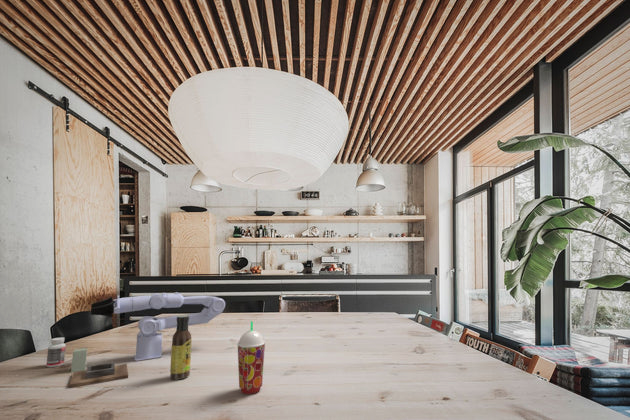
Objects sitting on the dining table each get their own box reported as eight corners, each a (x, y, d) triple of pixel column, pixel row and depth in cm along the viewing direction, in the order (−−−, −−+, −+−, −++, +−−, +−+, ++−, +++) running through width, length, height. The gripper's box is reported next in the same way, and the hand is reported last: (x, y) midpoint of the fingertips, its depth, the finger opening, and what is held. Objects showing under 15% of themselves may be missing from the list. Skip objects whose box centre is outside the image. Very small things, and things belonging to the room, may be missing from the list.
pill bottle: (63, 366, 123) (66, 339, 125) (45, 368, 120) (48, 341, 122) (64, 362, 128) (67, 336, 129) (47, 365, 125) (49, 338, 126)
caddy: (126, 366, 122) (127, 358, 122) (128, 377, 110) (128, 368, 110) (73, 375, 114) (74, 365, 114) (69, 388, 102) (69, 378, 102)
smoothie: (238, 385, 102) (240, 319, 105) (265, 384, 103) (266, 318, 106) (234, 396, 94) (236, 324, 97) (263, 395, 95) (264, 323, 97)
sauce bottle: (188, 379, 108) (191, 317, 111) (168, 381, 106) (171, 318, 109) (191, 373, 114) (193, 314, 117) (172, 374, 113) (174, 315, 116)
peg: (85, 367, 122) (87, 347, 123) (84, 370, 118) (86, 350, 119) (72, 369, 120) (74, 349, 121) (71, 372, 116) (73, 351, 117)
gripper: (130, 290, 139) (92, 294, 132) (133, 298, 127) (90, 303, 120) (130, 307, 139) (92, 312, 132) (132, 316, 127) (90, 322, 119)
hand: (91, 309), depth 126 cm, fingers open, 7 cm apart
